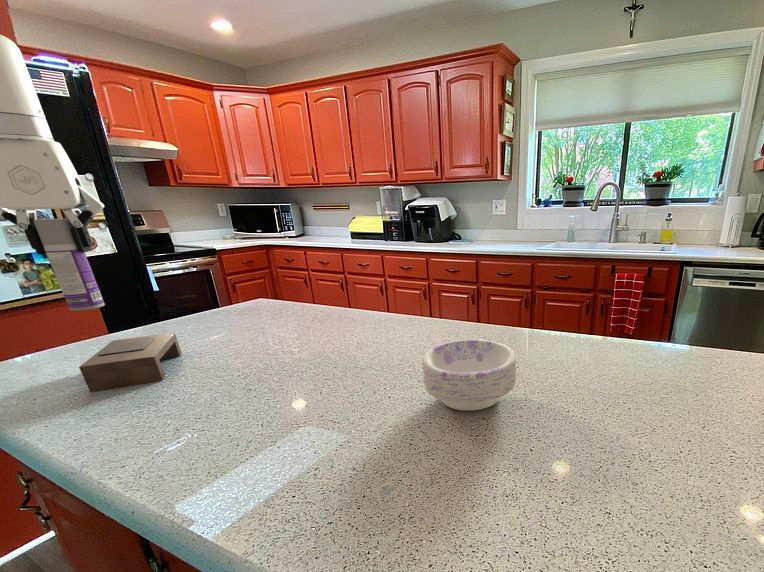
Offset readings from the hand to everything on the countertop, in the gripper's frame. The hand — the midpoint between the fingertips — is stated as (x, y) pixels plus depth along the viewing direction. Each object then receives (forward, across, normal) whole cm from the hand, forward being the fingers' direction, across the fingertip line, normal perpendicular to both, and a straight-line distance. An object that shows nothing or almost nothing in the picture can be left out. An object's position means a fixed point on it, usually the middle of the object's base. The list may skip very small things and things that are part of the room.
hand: (65, 251), depth 68 cm
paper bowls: (+24, +60, -36) cm, 74 cm away
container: (+10, 0, 0) cm, 10 cm away
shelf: (+24, +3, +4) cm, 25 cm away
